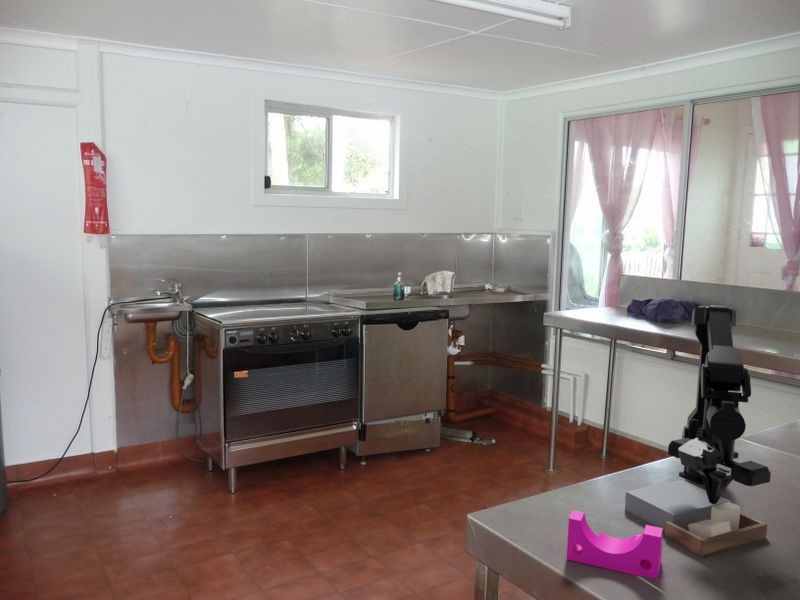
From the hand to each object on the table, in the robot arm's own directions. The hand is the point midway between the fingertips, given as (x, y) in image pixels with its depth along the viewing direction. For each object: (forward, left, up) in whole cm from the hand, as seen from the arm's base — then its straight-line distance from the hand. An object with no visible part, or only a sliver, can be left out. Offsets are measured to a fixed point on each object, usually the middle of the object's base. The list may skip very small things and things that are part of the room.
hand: (713, 503), depth 131 cm
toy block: (+2, -27, -6) cm, 27 cm away
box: (+3, -3, -5) cm, 7 cm away
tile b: (+2, 0, -2) cm, 3 cm away
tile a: (+4, -6, -1) cm, 7 cm away
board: (-7, -2, -5) cm, 9 cm away
